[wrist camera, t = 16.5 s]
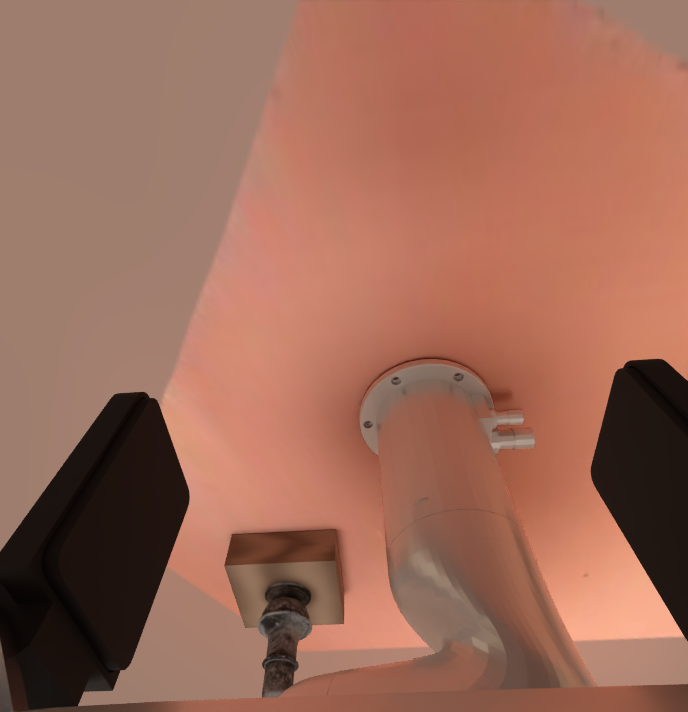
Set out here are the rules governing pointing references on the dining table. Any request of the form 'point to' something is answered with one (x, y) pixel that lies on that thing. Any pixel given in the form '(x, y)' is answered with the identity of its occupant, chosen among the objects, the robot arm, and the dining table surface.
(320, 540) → the brown flat wooden block
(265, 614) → the salt shaker
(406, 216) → the dining table surface
